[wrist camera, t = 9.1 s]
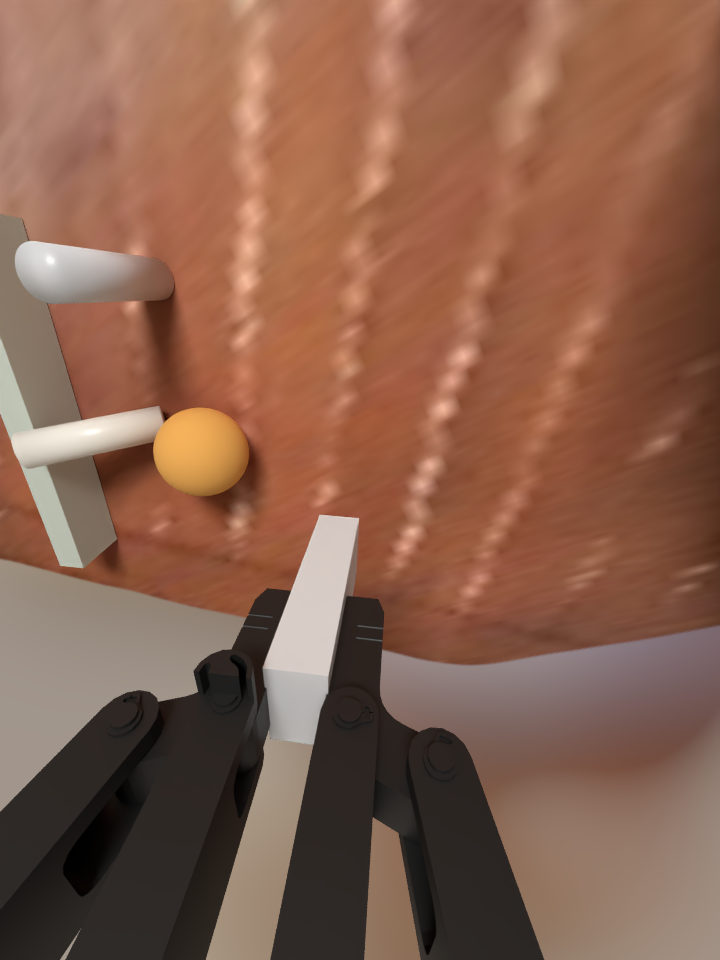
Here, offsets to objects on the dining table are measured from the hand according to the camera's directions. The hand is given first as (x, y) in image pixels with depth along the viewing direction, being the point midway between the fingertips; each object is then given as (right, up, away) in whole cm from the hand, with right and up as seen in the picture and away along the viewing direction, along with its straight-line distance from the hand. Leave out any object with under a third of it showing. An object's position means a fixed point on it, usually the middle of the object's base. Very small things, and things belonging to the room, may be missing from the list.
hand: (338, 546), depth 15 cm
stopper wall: (-21, +8, +14) cm, 27 cm away
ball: (-10, +5, +11) cm, 15 cm away
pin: (-13, +7, +13) cm, 19 cm away
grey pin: (-12, +15, +9) cm, 22 cm away
